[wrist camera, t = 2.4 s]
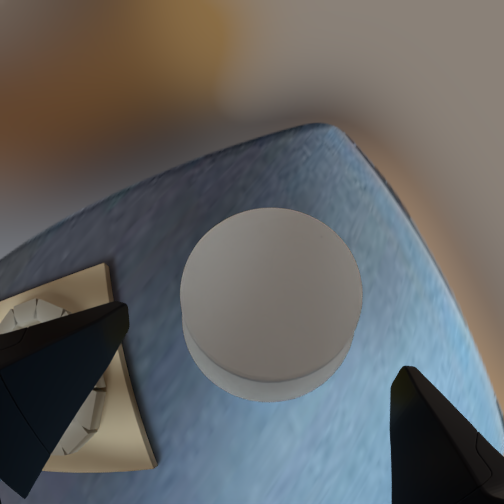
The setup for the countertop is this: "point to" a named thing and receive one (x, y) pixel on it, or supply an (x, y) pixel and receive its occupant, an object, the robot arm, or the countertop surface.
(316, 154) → the countertop surface
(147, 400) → the countertop surface
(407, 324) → the countertop surface
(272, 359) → the pill bottle
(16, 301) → the collar board
